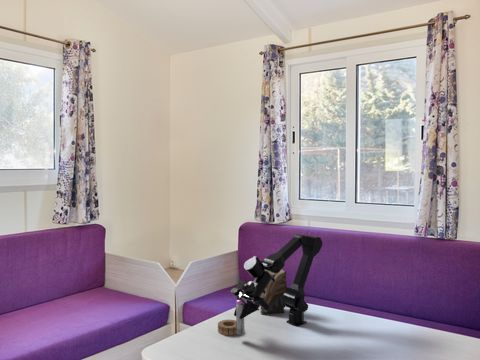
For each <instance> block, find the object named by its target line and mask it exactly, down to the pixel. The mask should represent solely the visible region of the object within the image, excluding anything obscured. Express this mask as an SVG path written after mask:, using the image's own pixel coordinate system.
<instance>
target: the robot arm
mask: <svg viewBox="0 0 480 360" xmlns="http://www.w3.org/2000/svg"><path fill="white" fill-rule="evenodd" d="M322 247H323V241H322V238H321V237H320V236H315V235H310V234H307V235H304V234H298V233H296V234H294V235H293V237H292V238H291V239H290V240H289V241H288V242H286V244H285V245H284V246H282V248H280V249H279V250H278V251H277V252H274V253H272V254H271V253H270V255H268V256H266V257H265V258H264V259H263V260H260V258H259V257H258V256H256V255H253V257H251V258H249V259H247V260H246V261H245V262H244V264H243V269H244V270H245V271H246V272H247V273H248V274H249V275H250V276H251V277H252V278H254V279H253V281H252V280H250V281H248V282H246V281H243V280H238V282H237V283H236V287H232V289H231V290H230V293H231V294H232V295H233V296H234V297H235V298H236V300H237V299H244V310H243V311H242V313H241V315H240V317H239V318H240V319H243V318H244V319H245V318H246V317H248V316H250V315H251V314H253V313H255V312H257V311H260V310H261V309H262V310H263V311H265V312H267V311H268V309H269V304H268V303H267V302H266V301H265V300H264V299H263V298H261V297H260V296H261V294H262V293H263V294H265V291H264V290H265V288H266V287H267V285H268V284H269V282H270V281H272V282H275V279H274V275H272V274H270V273H269V272H272V273H279V272H280V271H281V269H283V268H284V266H285V263H286V261H287V260H288V259H289V258H290V257H292V255H293V254H294V253H295V252H297V251H298V249H300V248H301V251H302V256H301V259H300V261H299V265H298V266H297V271H296V273H295V277H294V280H293V282H292V284H291V285H290V286H287V285H286V286H287V287H286V291H285V293H284V302H285V304H286V307H285V308H289V313H288V320H286V323H288V324H291V325H293V326H296V327H299V326H302V325H304V324H306V323H308V322H307V320H305V313H306V312H307V311H308V309H309V304H308V303H307V301H305V297H306V293H305V289H304V288H305V285H306V281H307V278H308V276H309V272H310V269H311V267H312V264H313V260H314V258H315V257H316V256H317V254H319V253H320V251H321V249H322ZM265 270H266V271H265ZM268 271H269V272H268ZM233 315H234V317H236V308H235V309H234V313H233Z"/></svg>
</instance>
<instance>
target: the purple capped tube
mask: <svg viewBox="0 0 480 360" xmlns="http://www.w3.org/2000/svg"><path fill="white" fill-rule="evenodd" d="M235 303H236V304H235V306H236V307H235V309H236V316H235V320H236V334H235V335H240V336H242V335H244V334H245V317H244V318H243V319H240V318H239V317H240V315H241V313H242V311H243V310H244V299H237V298H236V302H235Z"/></svg>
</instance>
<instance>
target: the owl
mask: <svg viewBox="0 0 480 360" xmlns="http://www.w3.org/2000/svg"><path fill="white" fill-rule="evenodd" d="M264 270H265V269H264ZM265 271H266V270H265ZM268 272H269V271H268ZM269 273H270V274H272V275H274V279H275V282H272V281H270V282H269V284H268V285H267V287H266V288H265V290H264V291H265V294H263V293H262V294H261V296H260V297H261V298H263V299H264V300H265V301H266V302H267V303H268V304H269V309H268V311H267V312H265V311H263V310H262V309H261V308H260V315H262V316H263V315H277V314H284V313H285V308H287V307H286V304H285V302H284V293H285V291H286V287H287V274H288V273H287V271H286V270H284V269H283V268H282V269H281V271H280V272H279V273H272V272H269Z"/></svg>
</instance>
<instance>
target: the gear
mask: <svg viewBox="0 0 480 360" xmlns="http://www.w3.org/2000/svg"><path fill="white" fill-rule="evenodd" d="M217 332H218V334H220V335H224V336H234V335H237V334H236V319H224V320H220V321H218V323H217Z"/></svg>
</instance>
